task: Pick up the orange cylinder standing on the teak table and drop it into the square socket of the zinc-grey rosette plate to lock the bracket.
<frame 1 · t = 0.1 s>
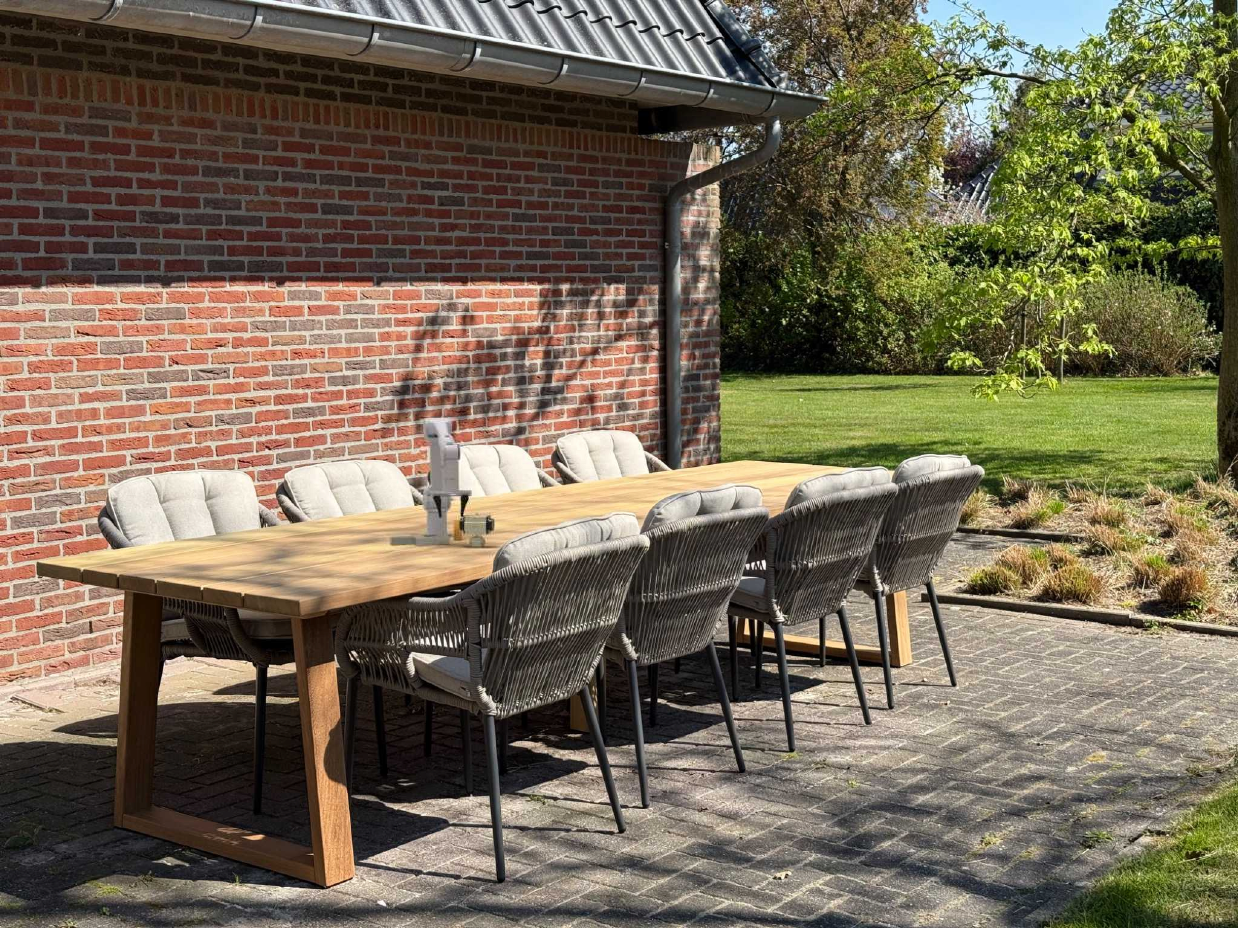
hand: (451, 517, 526), 10 cm above the table, fingers open, 7 cm apart
orange cylinder: (458, 539, 540), on the table
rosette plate: (430, 542, 533), on the table
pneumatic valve: (476, 547, 523), on the table
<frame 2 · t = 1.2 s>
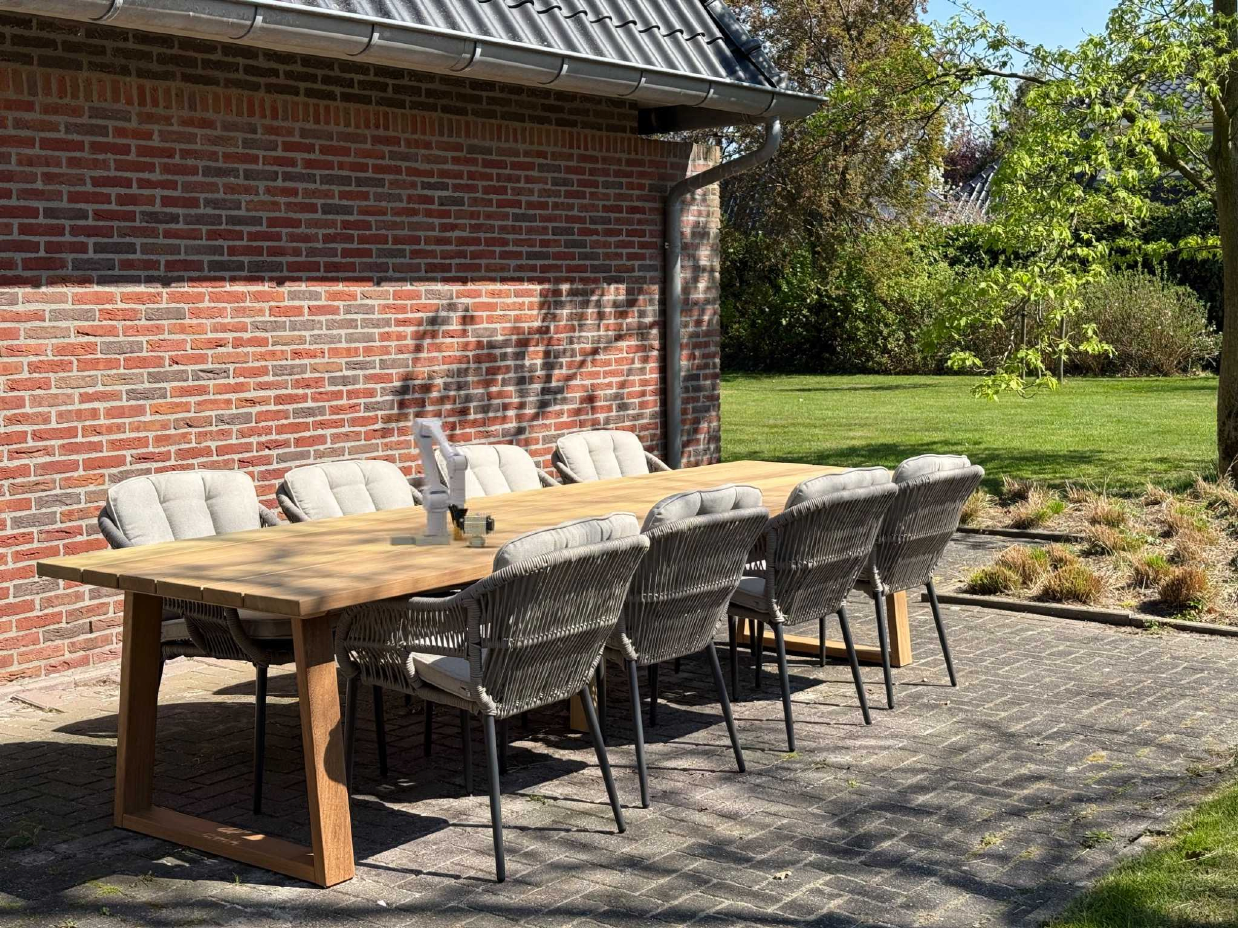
hand: (458, 526, 540), 5 cm above the table, fingers open, 7 cm apart
nothing on the table moved.
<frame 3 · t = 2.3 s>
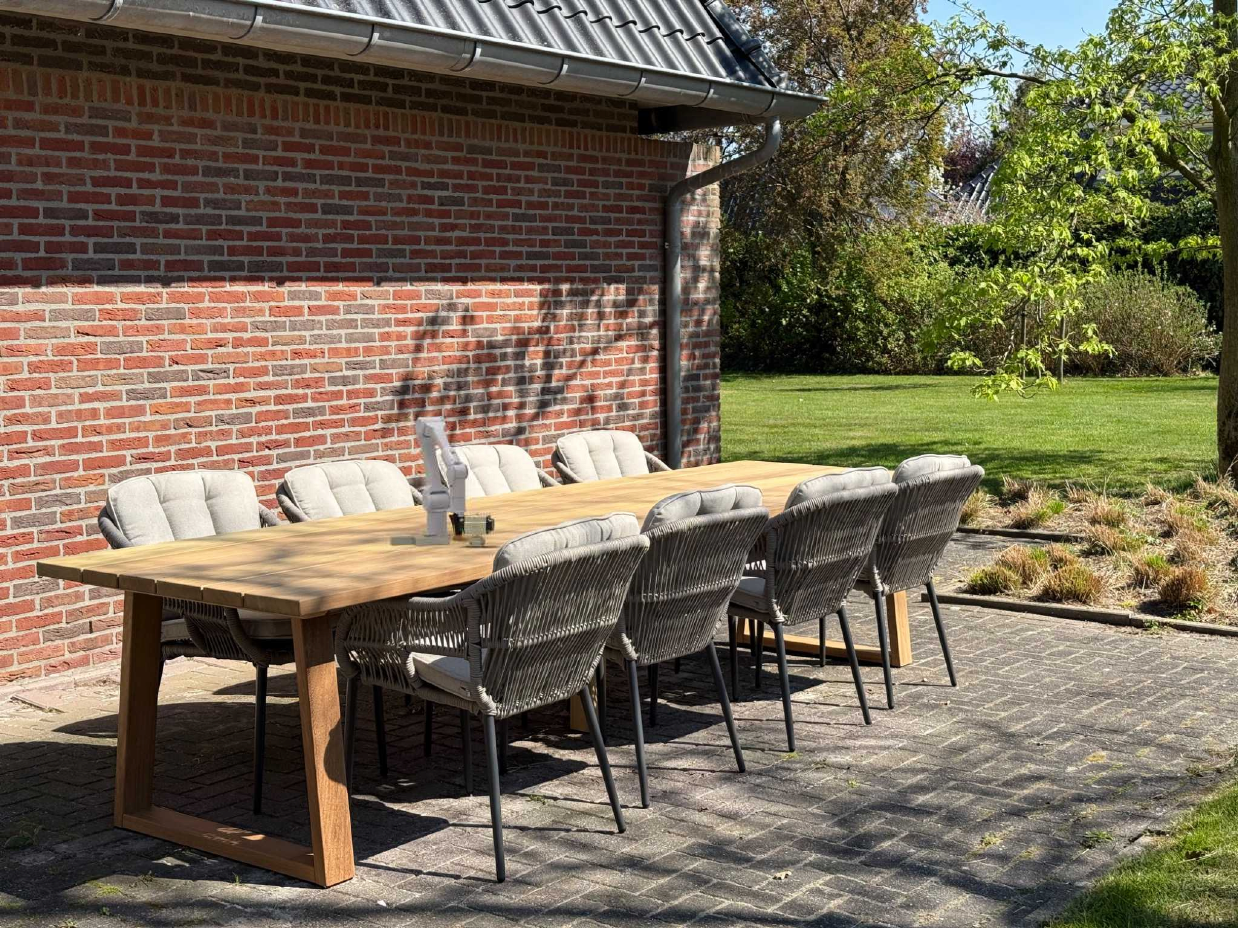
hand: (457, 534, 540), 2 cm above the table, fingers closed on orange cylinder, 3 cm apart
orange cylinder: (458, 539, 540), on the table, touching gripper
everything else where it was.
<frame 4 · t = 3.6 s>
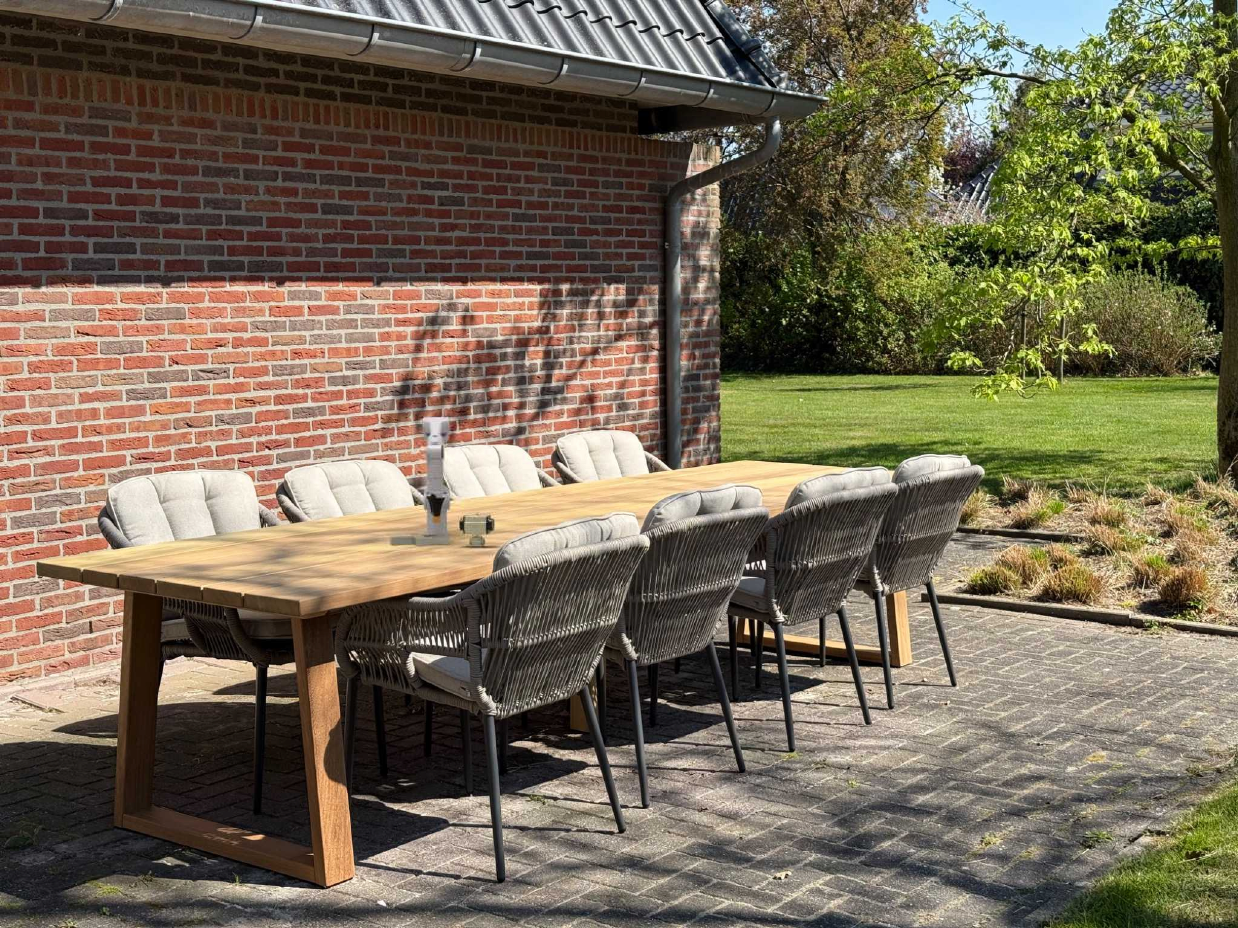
hand: (435, 515, 534), 9 cm above the table, fingers closed on orange cylinder, 3 cm apart
orange cylinder: (436, 522, 534), point 7 cm above the table, touching gripper
everything else where it was.
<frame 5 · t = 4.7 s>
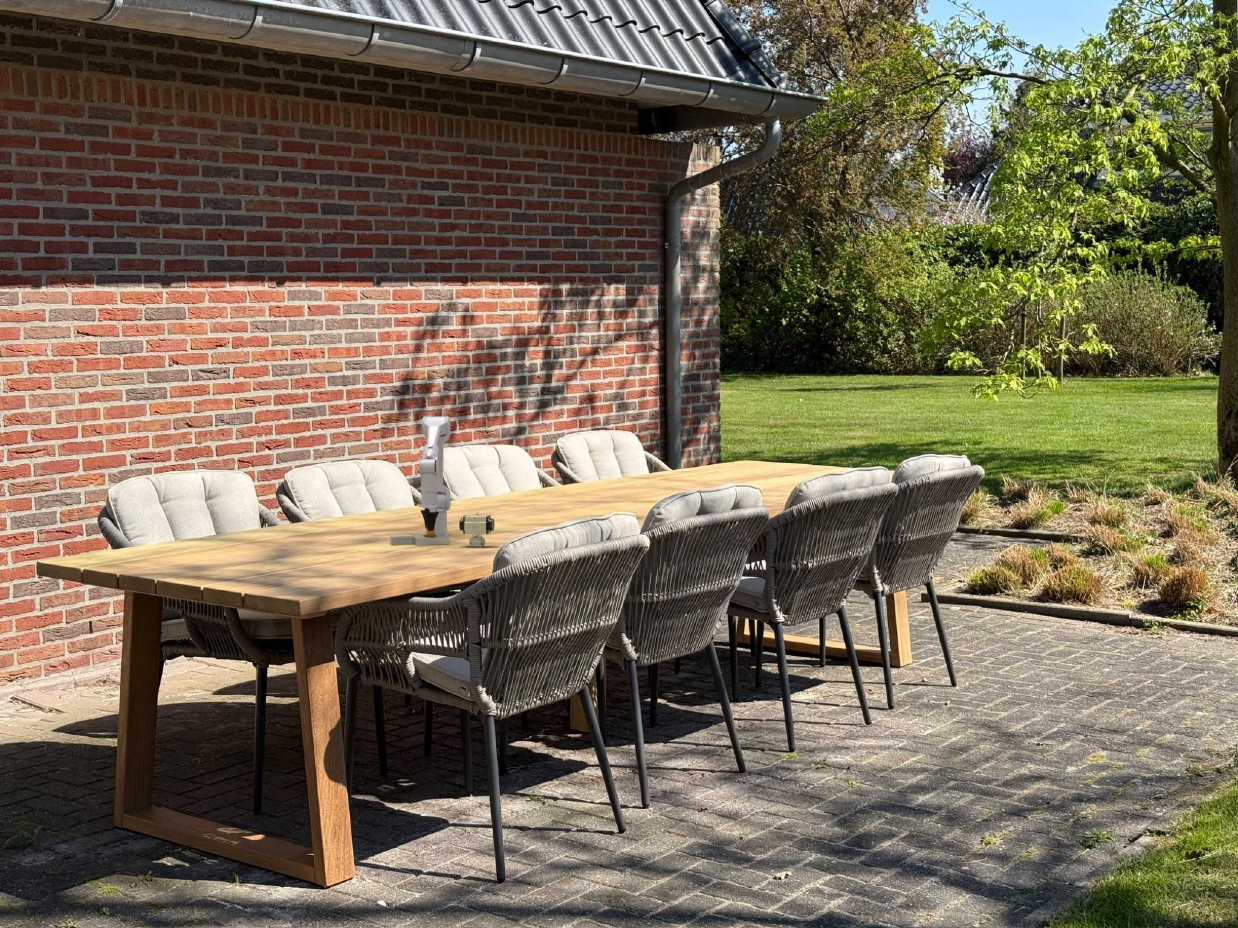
hand: (429, 530, 532), 5 cm above the table, fingers closed on orange cylinder, 3 cm apart
orange cylinder: (430, 536, 533), point 2 cm above the table, touching gripper
everything else where it was.
when the fingers open (3 cm above the table, at t = 5.3 s): orange cylinder drops 1 cm, resting in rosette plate.
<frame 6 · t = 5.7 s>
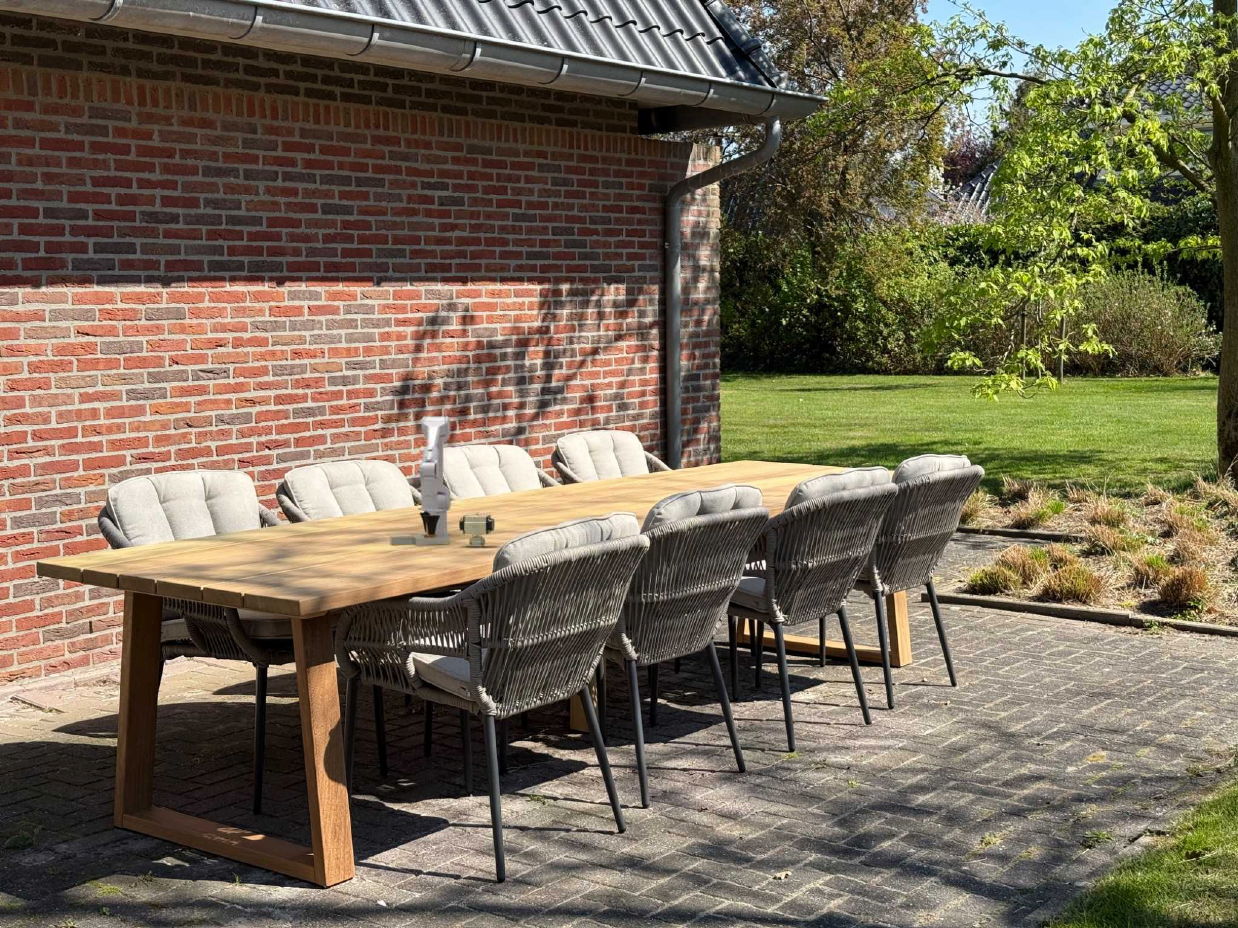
hand: (429, 533, 533), 3 cm above the table, fingers open, 7 cm apart
orange cylinder: (430, 542, 533), resting in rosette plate
everything else where it was.
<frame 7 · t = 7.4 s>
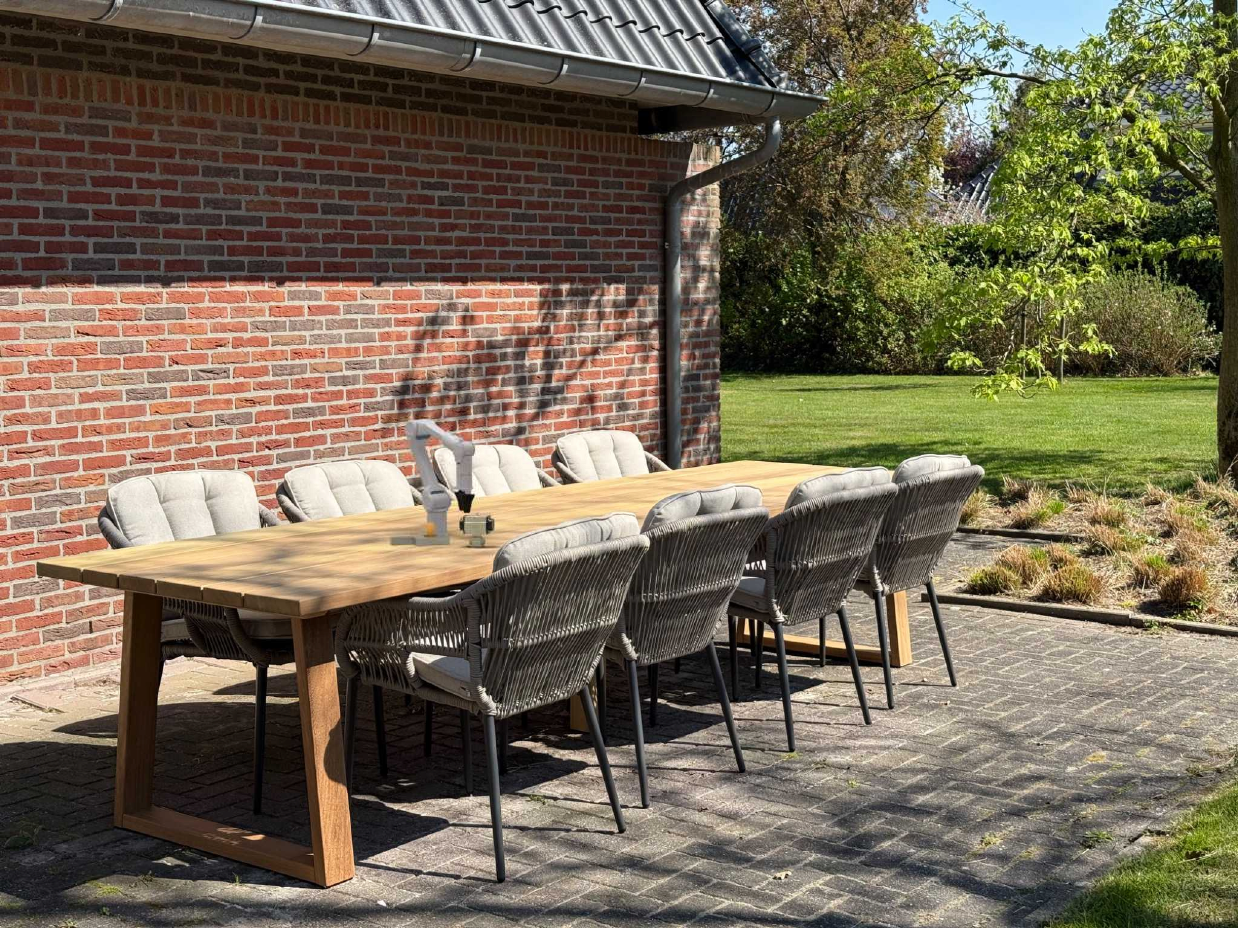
hand: (464, 511, 542), 10 cm above the table, fingers open, 7 cm apart
nothing on the table moved.
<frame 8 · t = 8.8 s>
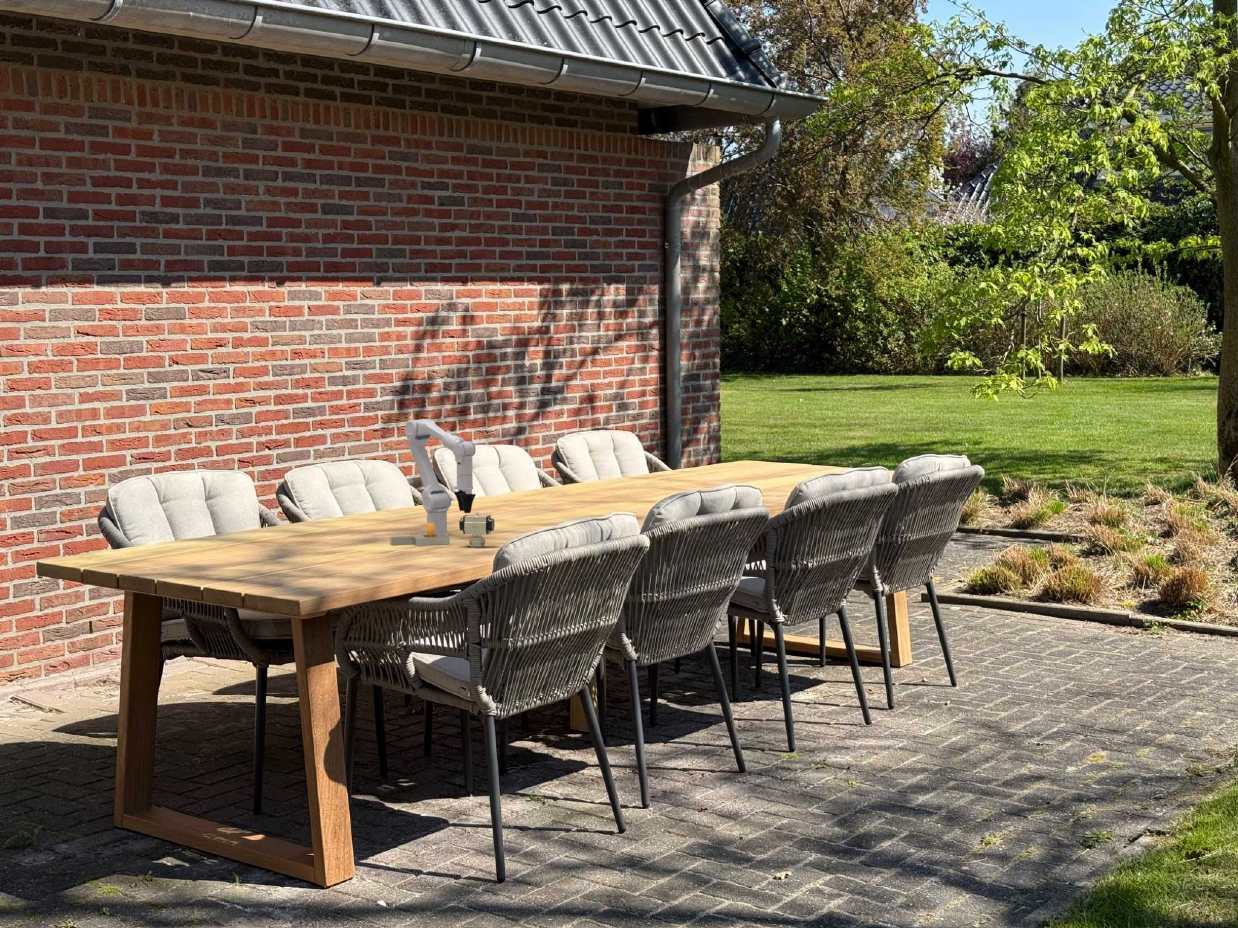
hand: (465, 511, 542), 10 cm above the table, fingers open, 7 cm apart
nothing on the table moved.
at the end: orange cylinder 0.3 cm off-centre on the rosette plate, point 0.0 cm above the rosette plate's base; orange cylinder tilted 0°; the gripper is holding nothing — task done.
